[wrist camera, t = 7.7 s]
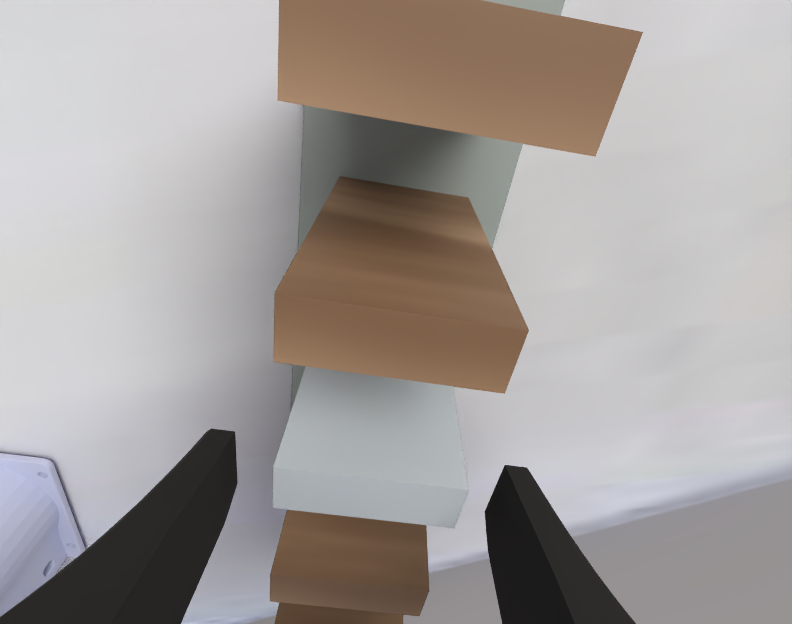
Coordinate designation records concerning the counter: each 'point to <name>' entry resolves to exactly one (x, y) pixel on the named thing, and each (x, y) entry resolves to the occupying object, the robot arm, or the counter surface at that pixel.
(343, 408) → the grey domino
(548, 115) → the domino
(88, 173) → the counter surface
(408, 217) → the domino
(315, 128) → the rubber mat
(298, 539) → the domino
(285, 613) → the domino
